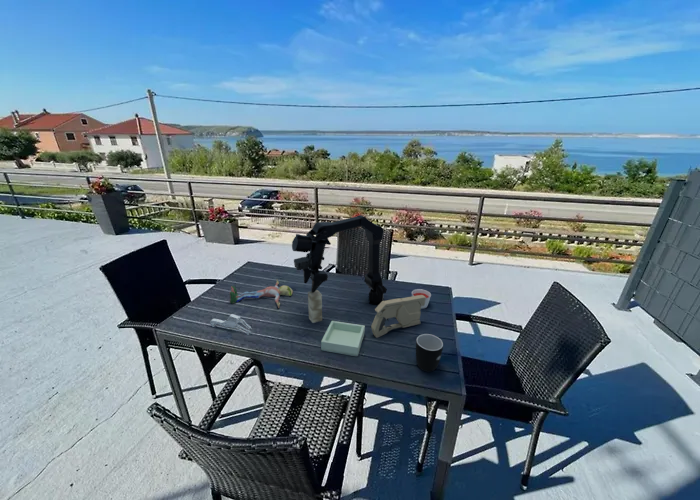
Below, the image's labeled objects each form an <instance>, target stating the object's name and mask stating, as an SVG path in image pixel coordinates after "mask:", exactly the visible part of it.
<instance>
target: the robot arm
mask: <svg viewBox="0 0 700 500" xmlns="http://www.w3.org/2000/svg"><path fill="white" fill-rule="evenodd" d="M359 227H361V228H362V229H363V230H364V233H365V237H366V240H367V242H368V272H367V273H365V274H364V280H363V282H364V283H365V284H366V286H367V287H368V288H369V289H370V291H369V292H368V301H369V302H368V303H369V304H370V305H377V306H378V305H379V304H380V303H381V302H382V301H385V300H384V299H385V298H384V296H385V295H384V294H386V293H387V290H388V288H387V287H385V286H384V285H383V284H384V283H383V279H382V278H383V277H382V276H381V273H380V244H381V242H382V240H383V237H384V228H383V227H382V226H381V225H378V224H376V223H374V222H372V221H370V220H369V219H368V218H367V217H366V216H364V215H361V214H359V215H357V216H353V217H349V218H344V219H339V220H337V221H318V222H316V223H314V225H313V227H312V228H311V229H310V230H309V231H308V232H307V233H306V234H305V235H303V234H300V233H299V234H298V233H296V234H295V237H294V238H293V239H292V241H291V248H292V251H293V252H298V253H299V252H301V253H306V256H303V257H298V258H294V259H293V264H294V268H295V269H296V271H302V273H303V283H304V284H307V283H308V282H309V280H311V290H310V292H312V293H314V292H315V291H316V290H318V288H319V287H320V286H321V285H322V284H323V283H324V282H327V281H328V278H329V275H328V273H326V272H325V270H322V269H323V266H322V264H323V263H322V262H323V261H325V257H324V253H325V251H326V246H327V245H332V243H331V242H330V240H329V238H331V237H333V236H335V234H337V233H340V232H343V231H347V230H348V231H349V230H351V229H355V228H359Z"/></svg>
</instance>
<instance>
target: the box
mask: <svg viewBox="0 0 700 500" xmlns="http://www.w3.org/2000/svg"><path fill="white" fill-rule="evenodd" d="M365 332H366V325H363V324H356V323H350V322H343V321H338V320H337V321H336V320H331V322H330V323H329V326H328V327H327V329H326V331H325V333H324V335H323V337H322V339H321V342H320V345H321V346H320V347H321V351H324V352H328V353H329V352H330V353H336V354H340V355H341V354H342V355H345V356H346V355H347V356H352V357H358V356H359V353H360V350H361V347H362V343H363V340H364V337H365Z"/></svg>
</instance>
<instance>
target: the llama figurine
mask: <svg viewBox="0 0 700 500" xmlns="http://www.w3.org/2000/svg"><path fill="white" fill-rule="evenodd" d="M209 323H210V325H211V328H214V327H215V326H216V324H217V325H219V326H222V327H226V328H231V329H232V328H233V329H237V330H239V331H241V332H242V333H245V334H246V335H247V336H249V335H250V333H252V331H251V330H252V329H253V327H252V326H250V324H248V322H246V321H245V320H244V319H242V318H241V316H239V315H236V314H233V313H231V314H230V315H229V316H228V318H227V319H226V320H222V319H218V318H212V319H211V320H210V321H209ZM239 323H240V324H242V325H243V326H244V327H243V326H241V325H240V324H239Z"/></svg>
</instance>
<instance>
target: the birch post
mask: <svg viewBox="0 0 700 500" xmlns="http://www.w3.org/2000/svg"><path fill="white" fill-rule="evenodd" d="M307 304H308V306H307V307H308V319H309V320H310V322H311V323H312V324H315V323H318V322H322V321H323V295H322V293H321V292H320V291H319V290H318V289H316V291H315V292H314V293H312V292H311V291H307Z"/></svg>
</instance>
